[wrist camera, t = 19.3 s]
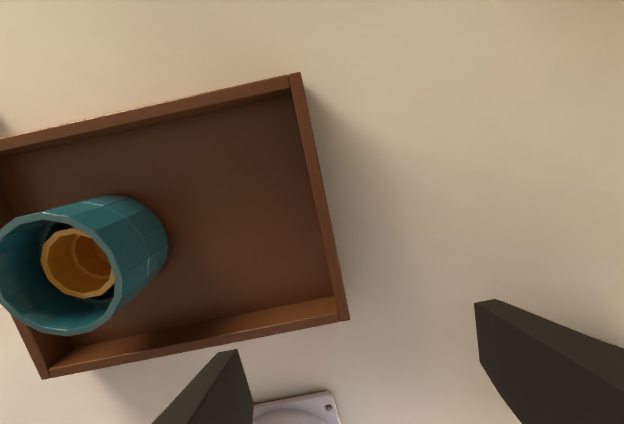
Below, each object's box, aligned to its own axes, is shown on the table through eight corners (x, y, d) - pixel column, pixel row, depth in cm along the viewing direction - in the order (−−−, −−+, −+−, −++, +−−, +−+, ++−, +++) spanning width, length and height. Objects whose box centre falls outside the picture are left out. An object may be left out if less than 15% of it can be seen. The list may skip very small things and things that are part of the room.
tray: (301, 81, 17) (300, 71, 14) (345, 298, 20) (350, 320, 17) (-15, 151, 17) (-67, 153, 15) (73, 351, 20) (41, 380, 18)
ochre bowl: (158, 264, 18) (127, 290, 15) (100, 276, 18) (58, 304, 15) (138, 207, 17) (101, 221, 14) (78, 219, 17) (29, 237, 14)
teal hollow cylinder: (183, 275, 19) (139, 322, 14) (94, 293, 19) (19, 346, 14) (153, 184, 17) (93, 200, 12) (58, 204, 18) (-38, 228, 13)
